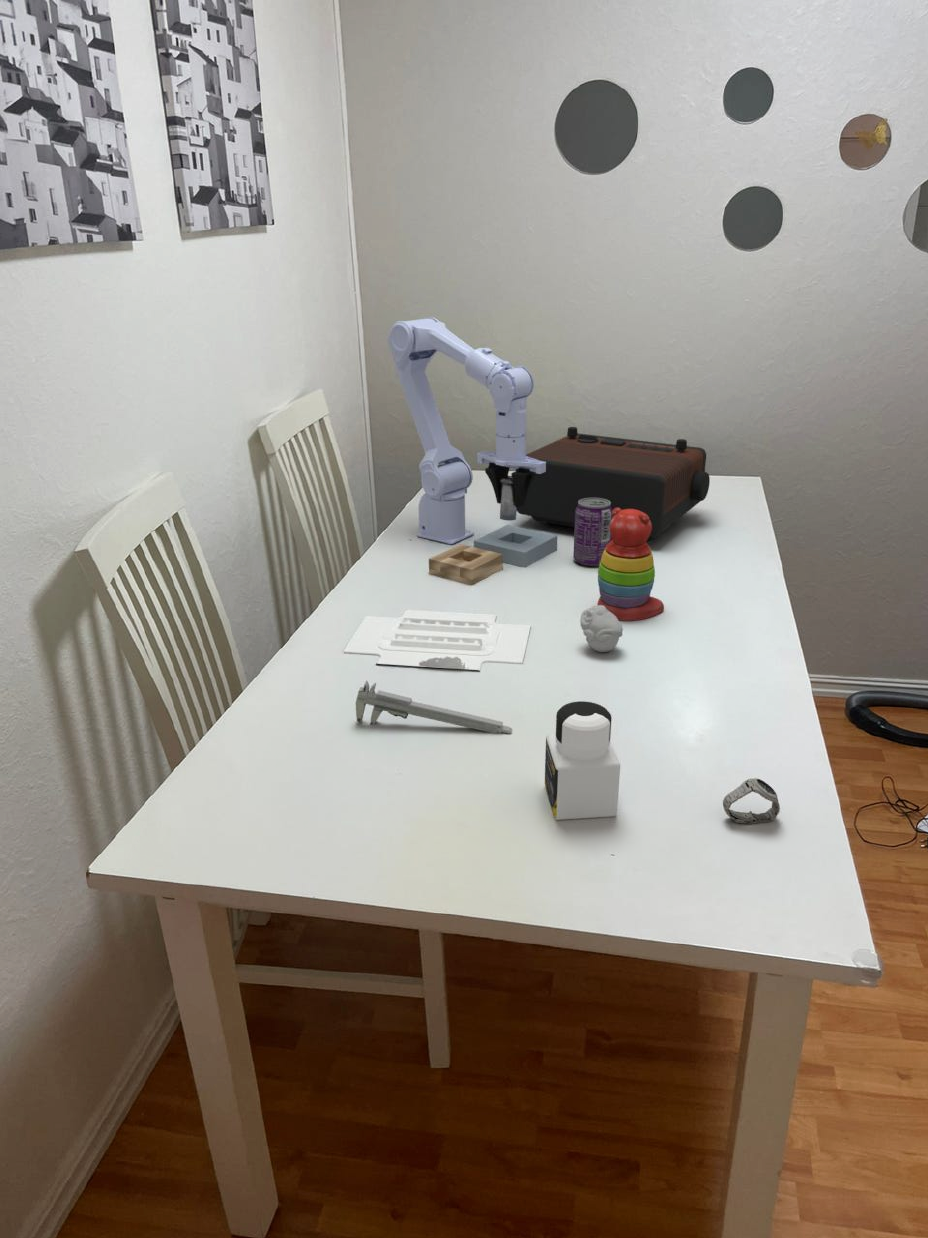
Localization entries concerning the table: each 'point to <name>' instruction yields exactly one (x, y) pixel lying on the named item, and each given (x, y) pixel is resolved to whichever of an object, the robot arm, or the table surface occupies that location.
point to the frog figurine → (600, 628)
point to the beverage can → (591, 530)
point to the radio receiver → (617, 478)
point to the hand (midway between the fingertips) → (510, 504)
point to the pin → (507, 499)
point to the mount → (465, 564)
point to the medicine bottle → (582, 763)
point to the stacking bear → (628, 568)
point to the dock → (518, 544)
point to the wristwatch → (750, 817)
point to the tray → (440, 640)
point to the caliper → (419, 711)
